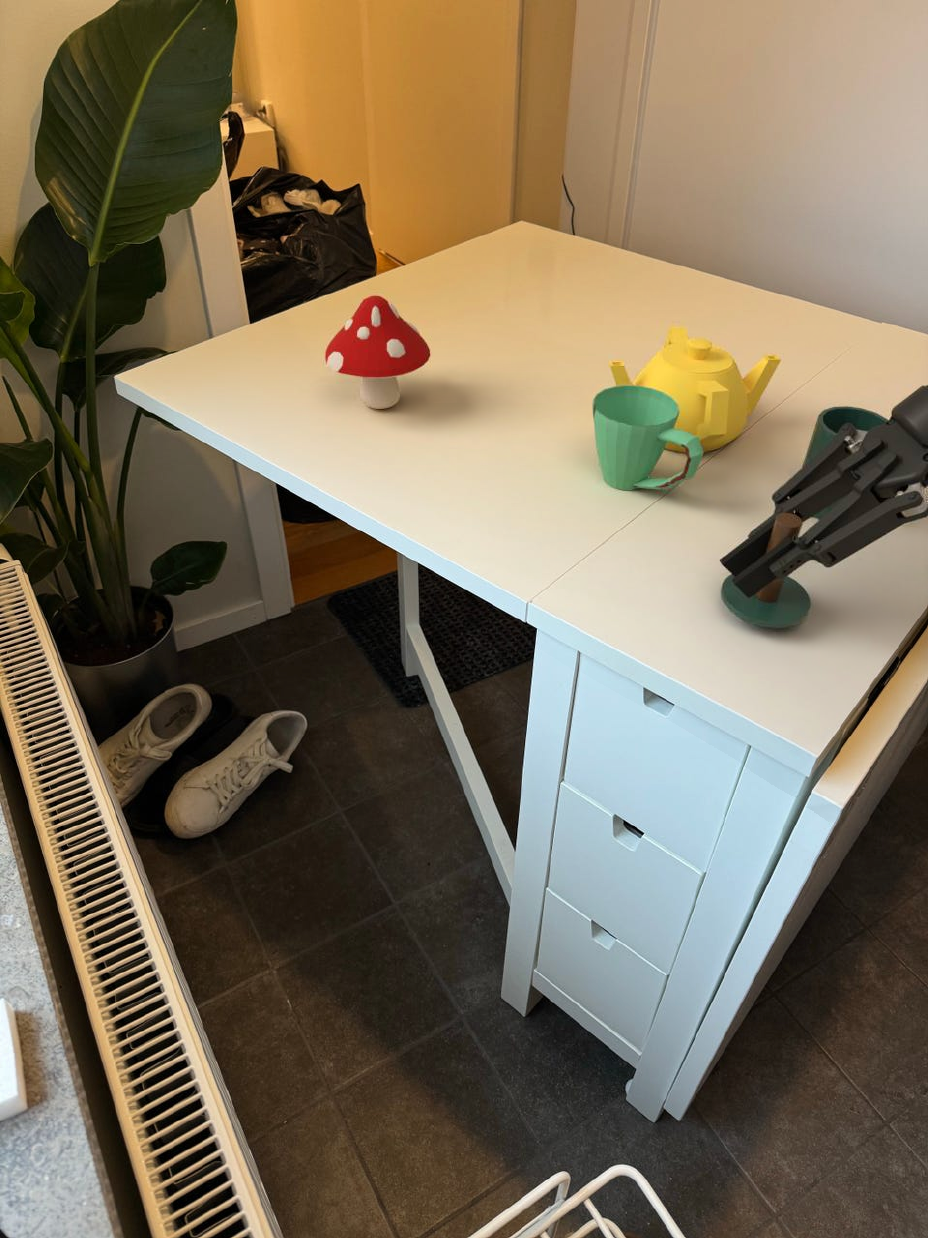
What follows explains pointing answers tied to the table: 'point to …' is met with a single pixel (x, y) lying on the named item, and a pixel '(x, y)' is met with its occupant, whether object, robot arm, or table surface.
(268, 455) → the table surface
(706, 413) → the teapot
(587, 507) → the table surface
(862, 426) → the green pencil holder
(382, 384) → the decorative mushroom
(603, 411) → the mug
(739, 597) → the ring toss peg stand
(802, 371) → the table surface
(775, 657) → the table surface
